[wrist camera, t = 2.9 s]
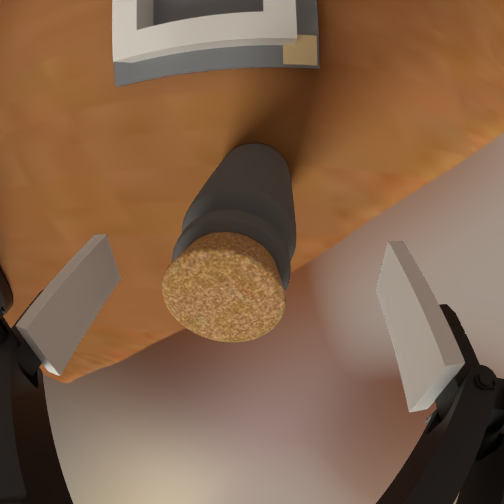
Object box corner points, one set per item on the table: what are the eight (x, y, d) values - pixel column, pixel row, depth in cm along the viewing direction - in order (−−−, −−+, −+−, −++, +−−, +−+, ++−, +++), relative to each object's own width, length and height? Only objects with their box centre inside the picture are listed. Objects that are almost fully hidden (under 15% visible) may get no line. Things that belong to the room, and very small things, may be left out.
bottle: (206, 163, 23) (118, 271, 10) (269, 129, 21) (252, 203, 8) (241, 219, 25) (204, 362, 13) (302, 191, 23) (324, 329, 11)
